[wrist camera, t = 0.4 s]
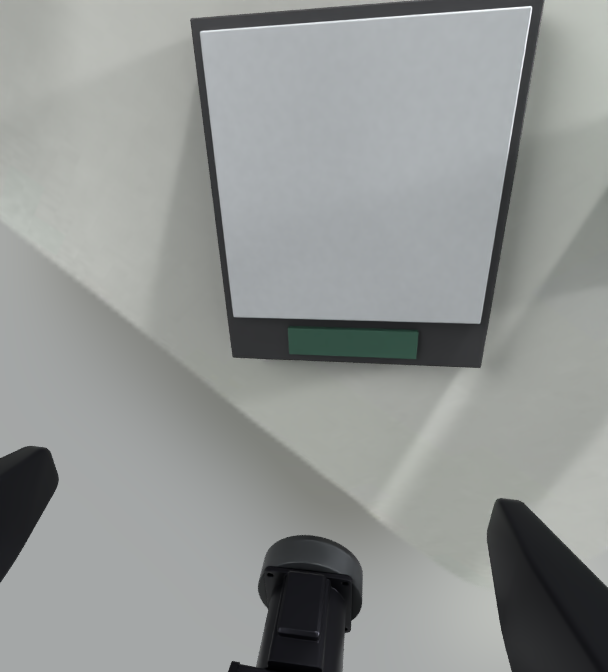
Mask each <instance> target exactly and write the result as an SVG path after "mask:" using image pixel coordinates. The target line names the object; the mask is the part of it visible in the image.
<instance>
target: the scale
mask: <svg viewBox="0 0 608 672" xmlns="http://www.w3.org/2000/svg"><path fill="white" fill-rule="evenodd" d="M544 1H545V0H414V1H402V2H389V3H377V4H365V5H352V6H340V7H327V8H315V9H303V10H290V11H278V12H265V13H253V14H240V15H228V16H216V17H203V18H191V20H190V21H191V29H192V37H193V45H194V53H195V61H196V69H197V77H198V85H199V93H200V101H201V109H202V117H203V125H204V133H205V140H206V148H207V156H208V164H209V172H210V180H211V188H212V196H213V204H214V212H215V220H216V228H217V236H218V244H219V252H220V260H221V268H222V276H223V284H224V292H225V300H226V308H227V316H228V324H229V332H230V340H231V348H232V356H233V358H257V359H281V360H305V361H329V362H353V363H377V364H401V365H425V366H449V367H473V368H480V367H481V363H482V357H483V352H484V346H485V340H486V334H487V329H488V323H489V317H490V311H491V306H492V300H493V294H494V288H495V283H496V277H497V271H498V265H499V260H500V254H501V248H502V242H503V237H504V231H505V225H506V219H507V214H508V208H509V202H510V196H511V191H512V185H513V179H514V173H515V168H516V162H517V156H518V151H519V145H520V139H521V133H522V128H523V122H524V116H525V110H526V105H527V99H528V93H529V87H530V82H531V76H532V70H533V64H534V59H535V53H536V47H537V41H538V36H539V30H540V24H541V18H542V13H543V7H544Z"/></svg>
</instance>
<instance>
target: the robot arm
mask: <svg viewBox="0 0 608 672" xmlns="http://www.w3.org/2000/svg"><path fill="white" fill-rule="evenodd" d="M58 481H59V478H58V473H57V470H56V467H55V464H54V461H53V458H52V455H51V453H50V451H49V450H48V449H47V448H44V447H36V446H27V447H24V448H21V449H19V450H17V451H15V452H13V453H11V454H8V455H6V456H4V457H2V458H0V582H1V581H2V580H3V578H4V577H5V575H6V574H7V572H8V571H9V569H10V568H11V566H12V565H13V563H14V562H15V560H16V558H17V557H18V555H19V553H20V552H21V550H22V548H23V547H24V545H25V543H26V542H27V539H28V538H29V536H30V534H31V533H32V531H33V529H34V527H35V525H36V524H37V522H38V520H39V518H40V517H41V515H42V513H43V511H44V510H45V508H46V506H47V504H48V502H49V501H50V499H51V497H52V496H53V494H54V492H55V490H56V488H57V485H58ZM487 544H488V550H489V556H490V563H491V569H492V576H493V582H494V588H495V595H496V601H497V607H498V613H499V620H500V625H501V631H502V635H503V639H504V643H505V648H506V651H507V655H508V659H509V663H510V666H511V670H512V672H608V587H607V586H606V585H605V584H603V582H602V581H601V580H599V578H598V577H597V576H596V575H595V574H594V573H593V572H592V571H591V570H590V569H589V568H588V567H587V566H586V565H585V564H584V563H583V562H582V561H581V560H580V559H579V558H578V557H577V556H576V555H575V554H574V553H573V552H572V551H571V550H570V549H569V548H568V547H567V546H566V545H565V544H564V543H563V542H562V541H561V540H560V539H559V538H558V537H557V536H556V535H555V534H554V533H553V532H552V531H551V530H550V529H549V528H548V527H547V526H546V525H545V524H544V523H543V522H542V521H541V520H540V519H539V518H538V517H537V516H536V515H535V514H534V513H533V512H532V511H531V510H530V509H529V508H528V507H527V506H526V505H525V504H524V503H523V502H521V501H519V500H512V499H503V498H500V499H497V500H496V502H495V504H494V507H493V511H492V514H491V518H490V522H489V525H488V529H487ZM264 580H265V589H266V597H267V606H268V614H267V618H266V623H265V628H264V632H263V637H262V642H261V646H260V651H259V656H258V660H257V665H256V667H252V666H247V665H241V664H240V662H235V661H232V662H231V665H230V668H229V671H228V672H342V669H343V651H344V634H345V633H347V632H350V630H351V606H352V578H351V577H350V576H349V575H346V574H338V573H330V572H321V571H312V570H303V569H295V568H286V567H277V566H267V567H266V568H265V571H264Z"/></svg>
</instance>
